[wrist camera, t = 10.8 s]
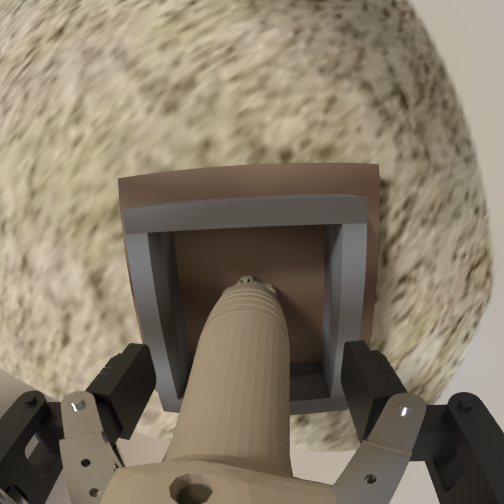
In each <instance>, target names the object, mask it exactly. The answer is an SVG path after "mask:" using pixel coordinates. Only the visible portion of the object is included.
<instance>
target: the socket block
mask: <svg viewBox="0 0 504 504" xmlns="http://www.w3.org/2000/svg"><path fill="white" fill-rule="evenodd" d="M118 186H119V200H120V211H121V221H122V230H123V238H124V246H125V254H126V260H127V267H128V273H129V279H130V285H131V291H132V296H133V301H134V306H135V311H136V316H137V321H138V325H139V330H140V334H141V339H142V343H143V344H147V345H148V346H149V349H150V353H151V357H152V361H153V364H154V368H155V372H156V386H155V391H158V394H159V397H160V401H161V404H162V407H163V410H164V411H167V412H176V413H180V409H181V406H182V402H183V398H184V395H185V391H186V388H187V384H188V380H189V377H190V373H191V369H192V365H193V361H194V357H195V354H196V350H197V346H198V342H199V339H200V336H201V333H202V330H203V328H204V325H205V323H206V321H207V319H208V317H209V315H210V313H211V311H212V309H213V308H214V306H215V304H216V303H217V302H218V300H219V299H220V297H221V296H222V294H223V292H224V290H225V289H226V288H228V287H232V286H234V285H235V284H237V283H238V282H239V281H240V279H241V277H242V276H244V275H253V276H254V278H255V279H257V280H258V281H260V282H263V283H267V284H268V283H270V284H271V285H272V286H273V287H274V289H275V291H276V293H277V296H276V298H277V300H278V302H279V303H280V306H281V308H282V311H283V313H284V317H285V320H286V324H287V329H288V336H289V346H290V388H289V415H295V414H309V413H320V412H329V411H338V410H345V409H348V404H347V401H346V398H345V395H344V392H343V389H342V385H341V367H342V359H343V350H344V344H345V342H348V341H357V340H364V341H365V343H366V344H367V346H368V348H369V343H370V336H371V328H372V321H373V312H374V303H375V293H376V282H377V269H378V251H379V221H380V191H379V164H358V163H282V164H256V165H238V166H224V167H211V168H199V169H189V170H179V171H170V172H162V173H154V174H146V175H139V176H132V177H125V178H119V179H118Z"/></svg>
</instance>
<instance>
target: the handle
mask: <svg viewBox="0 0 504 504" xmlns="http://www.w3.org/2000/svg"><path fill="white" fill-rule="evenodd" d="M276 296H277V293H276V291H275V289H274V287H273V286H272V285H271V284H270V283H268V284H267V283H263V282H260V281H258V280H257V279H255V278H254V276H253V275H244V276H242V277H241V279H240V281H239V282H238V283H237V284H235V285H234V286H232V287H228V288H226V289H225V290H224V292H223V294H222V296H221V297H220V299H219V300H218V302H217V303H216V304H215V306H214V308H213V309H212V311H211V313H210V315H209V317H208V319H207V321H206V323H205V325H204V328H203V330H202V333H201V336H200V339H199V342H198V346H197V350H196V354H195V357H194V361H193V365H192V369H191V373H190V377H189V380H188V384H187V388H186V391H185V395H184V398H183V402H182V406H181V409H180V413H179V416H178V420H177V423H176V427H175V431H174V434H173V438H172V441H171V443H170V446H169V448H168V450H167V452H166V454H165V456H164V459H163V461H162V462H161V463H151V464H144V465H137V466H130V467H124V468H117V469H114V472H115V474H114V475H113V477H112V478H111V480H110V482H109V484H108V486H107V488H106V490H105V492H104V495H103V497H102V500H101V502H100V504H337V503H336V497H335V495H334V492H333V490H332V488H331V487H332V486H333V485H329V484H324V483H320V482H315V481H308V480H304V479H300V478H297V477H293V473H292V467H291V462H290V456H289V455H290V453H289V452H290V416H289V388H290V346H289V336H288V329H287V324H286V320H285V317H284V313H283V311H282V308H281V306H280V303H279V302H278V300H277V298H276ZM99 495H100V491H97V492H95V493H94V495H93V497H98V496H99Z"/></svg>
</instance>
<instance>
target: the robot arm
mask: <svg viewBox="0 0 504 504" xmlns="http://www.w3.org/2000/svg"><path fill="white" fill-rule="evenodd" d="M341 385H342V389H343V392H344V395H345V398H346V401H347V404H348V407H349V410H350V413H351V416H352V419H353V422H354V425H355V428H356V431H357V434H358V438H359V441H360V446H359V448H358V449H357V451H356V452H355V454H354V456H353V457H352V459H351V461H350V462H349V463H348V465H347V466H346V468H345V469H344V471H343V472H342V473H341V475H340V476H339V478H338V479H337V481H336V482H335V483H334V485H333V486H332V487H331V488H332V490H333V492H334V495H335V497H336V503H337V504H389V503H390V501H391V499H392V497H393V495H394V493H395V491H396V489H397V487H398V485H399V483H400V480H401V478H402V476H403V474H404V472H405V469H406V467H407V465H408V462H409V461H425V463H426V466H427V468H428V471H429V474H430V477H431V480H432V482H433V485H434V488H435V491H436V494H437V497H438V499H439V502H440V504H504V433H503V431H502V430H501V428H500V427H499V425H498V424H497V423H496V421H495V419H494V418H493V417H492V415H491V414H490V412H489V411H488V409H487V408H486V406H485V405H484V404H483V402H482V401H481V400H480V399H479V397H477V396H476V395H474V394H471V393H467V392H460V393H457V394H454V395H453V396H451V398H450V399H449V401H448V404H447V405H426V403H425V401H424V400H423V399H422V398H421V397H419V396H418V395H415V394H412V393H407V391H406V389H405V388H404V386H403V384H402V383H401V381H400V379H399V378H398V376H397V374H396V373H395V372H394V370H393V368H392V366H390V363H389V362H388V360H387V358H386V357H385V356H384V355H383V354H381V353H380V352H378V351H377V350H374V351H370V349H369V348H368V346H367V344H366V343H365V341H364V340H357V341H348V342H345V344H344V350H343V359H342V367H341ZM155 386H156V372H155V368H154V364H153V361H152V357H151V353H150V349H149V346H148V345H147V344H134V343H130V344H129V345H128V346H127V347H126V349H125V350H124V351H123V352H122V354H121V353H119V354H118V355H116V356H114V357H113V358H111V359H110V360H109V361H108V363H107V364H106V365H105V368H103V369H102V370H101V371H100V373H99V374H98V375H97V376H96V378H95V379H94V380H93V382H92V383H91V384H90V385H89V387H88V388H87V389H86V391H76V392H73V393H70V394H68V395H67V396H66V397H65V398H64V399H63V400H62V402H47V400H46V398H45V396H44V395H43V393H41V392H40V391H28V392H25V393H24V394H22V395H21V396H20V397H19V398H18V399H17V400H16V401H15V402H14V404H13V405H12V406H11V407H10V408H9V409H8V410H7V412H6V413H5V414H4V415H3V416H2V418H1V419H0V504H45V502H46V500H47V498H48V496H49V494H50V492H51V490H52V488H53V486H54V484H55V482H56V480H57V478H58V476H59V474H60V473H61V471H62V469H64V474H65V479H66V484H67V488H68V492H69V496H70V500H71V504H100V502H101V500H102V497H103V495H104V492H105V490H106V488H107V486H108V484H109V482H110V480H111V478H112V477H113V475H114V474H115V472H114V469H117V468H124V467H126V465H125V463H124V460H123V458H122V455H121V453H120V450H119V448H118V445H117V444H116V441H117V439H118V438H122V439H127V440H129V439H130V437H131V435H132V433H133V431H134V429H135V427H136V425H137V423H138V421H139V419H140V417H141V415H142V413H143V411H144V409H145V407H146V405H147V403H148V401H149V399H150V397H151V395H152V393H153V391H154V389H155ZM33 435H35V437H36V438H37V440H38V441H39V443H38V444H37V446H36V447H35V449H34V450H33V452H32V453H31V455H30V456H29V458H28V460H27V458H26V456H25V447H26V446H27V444H28V443H29V441H30V440H31V438H32V437H33ZM97 491H100V495H99V496H98V497H93V495H94V493H95V492H97Z"/></svg>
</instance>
